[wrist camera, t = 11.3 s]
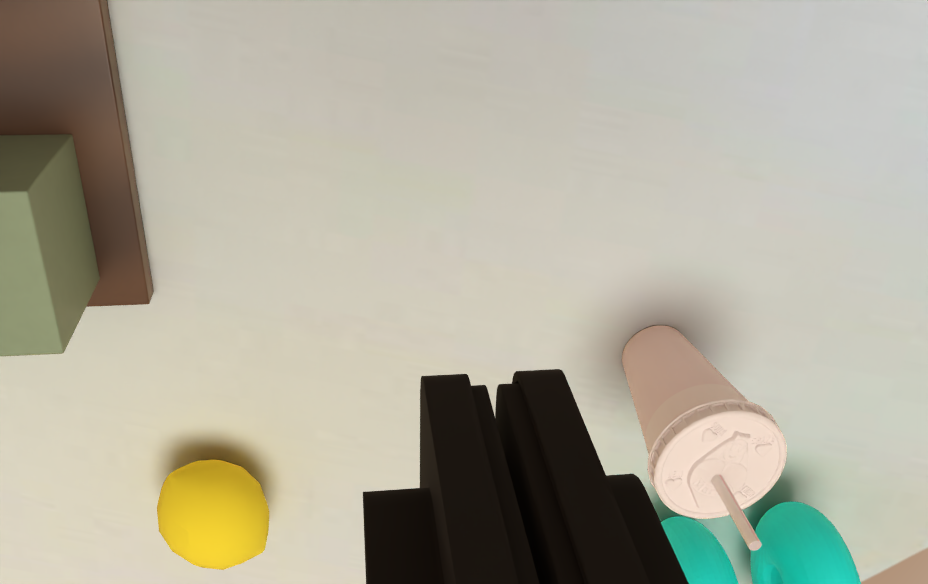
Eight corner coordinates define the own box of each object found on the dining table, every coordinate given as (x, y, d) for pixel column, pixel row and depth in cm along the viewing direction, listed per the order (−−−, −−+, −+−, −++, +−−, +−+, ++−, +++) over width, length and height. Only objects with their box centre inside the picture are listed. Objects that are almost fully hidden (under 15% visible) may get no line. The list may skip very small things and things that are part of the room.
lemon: (139, 468, 48) (118, 540, 43) (214, 416, 47) (202, 484, 42) (227, 540, 51) (217, 614, 46) (300, 492, 50) (297, 563, 45)
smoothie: (579, 387, 49) (660, 578, 37) (628, 290, 47) (733, 461, 34) (678, 411, 51) (786, 601, 39) (731, 319, 48) (865, 492, 36)
